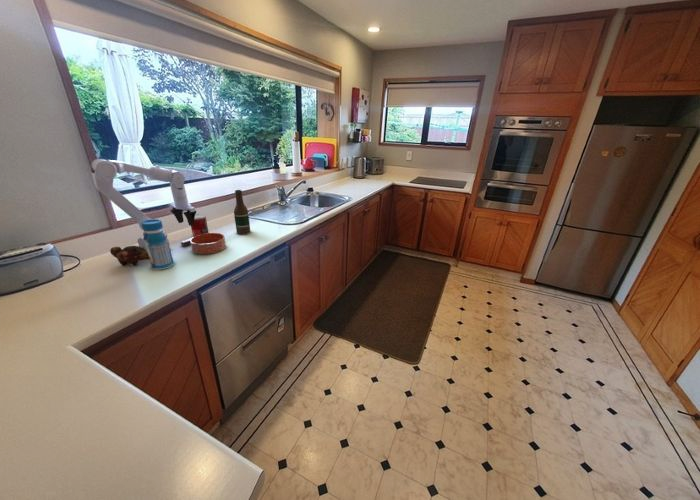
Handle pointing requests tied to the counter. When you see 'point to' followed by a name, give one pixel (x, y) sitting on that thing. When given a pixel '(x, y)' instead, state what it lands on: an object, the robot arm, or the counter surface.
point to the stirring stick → (186, 242)
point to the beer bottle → (241, 215)
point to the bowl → (208, 243)
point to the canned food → (199, 225)
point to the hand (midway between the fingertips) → (186, 223)
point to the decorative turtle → (130, 254)
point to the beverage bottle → (157, 244)
